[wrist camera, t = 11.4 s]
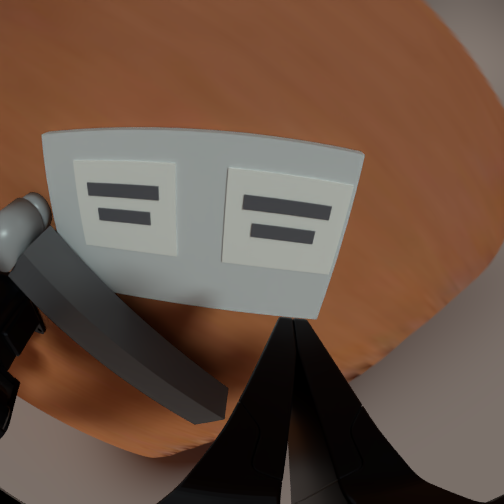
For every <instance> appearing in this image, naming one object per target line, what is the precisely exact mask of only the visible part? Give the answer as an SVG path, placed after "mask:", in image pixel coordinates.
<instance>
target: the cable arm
mask: <svg viewBox="0 0 504 504" xmlns="http://www.w3.org/2000/svg"><path fill="white" fill-rule="evenodd" d="M12 268H13V269H12ZM11 269H12V270H11ZM10 270H11V272H10V274H9V275H8V276H9V277H10V278H11V279H12V280H13V282H14V283H15V284H16V285H17V286H18V287H19V288H20V289H21V290H22V291H23V292H24V293H25V295H26V296H27V297H28V298H29V299H30V300H31V301H32V302H33V303H34V304H35V305H36V306H37V307H38V308H39V309H40V310H41V311H42V312H43V313H44V314H45V315H46V316H47V317H49V318H50V319H51V320H52V321H53V322H54V323H55V324H56V325H57V326H58V327H59V328H60V329H61V330H63V331H64V332H65V333H66V334H67V335H68V336H69V337H70V338H72V339H73V340H74V341H75V342H76V343H77V344H79V345H80V346H81V347H82V348H83V349H85V350H86V351H87V352H88V353H89V354H91V355H92V356H93V357H94V358H96V359H97V360H98V361H100V362H101V363H102V364H103V365H105V366H106V367H107V368H109V369H110V370H111V371H113V372H114V373H115V374H117V375H118V376H119V377H121V378H122V379H124V380H125V381H126V382H128V383H129V384H131V385H132V386H134V387H135V388H136V389H138V390H139V391H141V392H142V393H144V394H145V395H147V396H148V397H150V398H151V399H153V400H154V401H156V402H158V403H159V404H161V405H162V406H164V407H166V408H167V409H169V410H171V411H172V412H174V413H176V414H177V415H179V416H181V417H182V418H184V419H186V420H188V421H189V422H191V423H193V424H201V423H207V422H213V421H218V420H224V419H225V411H226V403H227V395H228V387H226V386H225V385H223V384H222V383H221V382H219V381H218V380H217V379H215V378H214V377H212V376H211V375H210V374H208V373H207V372H206V371H205V370H203V369H202V368H201V367H199V366H198V365H197V364H195V363H194V362H193V361H192V360H190V359H189V358H188V357H187V356H185V355H184V354H183V353H182V352H180V351H179V350H178V349H177V348H175V347H174V346H173V345H172V344H171V343H169V342H168V341H167V340H166V339H165V338H163V337H162V336H161V335H160V334H159V333H158V332H156V331H155V330H154V329H153V328H152V327H151V326H149V325H148V324H147V323H146V322H145V321H144V320H143V319H142V318H140V317H139V316H138V315H137V314H136V313H135V312H134V311H133V310H132V309H131V308H130V307H128V306H127V305H126V304H125V303H124V302H123V301H122V300H121V299H120V298H119V297H118V296H117V295H116V294H115V293H114V292H113V291H112V290H111V289H110V288H109V287H107V286H106V285H105V284H104V283H103V282H102V281H101V280H100V279H99V278H98V277H97V276H96V275H95V273H94V272H93V271H92V270H91V269H90V268H89V267H88V266H87V265H86V264H85V263H84V262H83V261H82V260H81V259H80V258H79V257H78V256H77V255H76V254H75V252H74V251H73V250H72V249H71V248H70V247H69V246H68V245H67V244H66V243H65V241H64V240H63V239H62V238H61V237H60V236H59V235H58V233H57V232H56V231H55V230H54V229H53V228H52V226H51V225H50V226H49V227H48V228H47V229H46V230H45V231H44V232H43V222H42V218H41V216H40V214H39V212H38V210H37V209H36V207H35V206H34V205H33V204H32V203H31V202H30V201H29V200H27V199H25V198H17V199H15V200H14V201H12V202H11V203H10V204H8V205H7V206H6V207H5V208H3V209H2V210H1V211H0V271H2V272H9V271H10Z"/></svg>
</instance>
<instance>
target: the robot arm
mask: <svg viewBox="0 0 504 504" xmlns="http://www.w3.org/2000/svg"><path fill="white" fill-rule="evenodd" d="M9 274H10V273H9V272H2V271H0V438H1V437H2V436H3V435H4V434H5V432H6V431H7V429H8V426H9V424H10V420H11V416H12V411H13V407H14V403H15V399H16V396H17V392H18V389H19V385H20V382H19V381H18V380H17V379H16V378H14V377H13V376H12V375H11V374H10V373H9V372H8V369H9V368H10V366H11V364H12V362H13V361H14V359H15V357H16V356H19V355H20V354H21V352H22V351H23V349H24V347H25V346H26V344H27V342H28V341H29V339H30V337H31V336H32V334H33V333H34V331H35V332H38V333H41V334H44V332H45V331H46V329H45V326H44V324H43V322H42V320H41V318H40V316H39V314H38V312H37V310H36V307H35V305H34V303H33V302H32V301H31V300H30V299H29V298H28V297H27V296H26V295H25V293H24V292H23V291H22V290H21V289H20V288H19V287H18V286H17V285H16V284H15V283H14V282H13V280H12V279H11V278H10V277H9V276H8V275H9ZM361 406H362V404H361V402H360V401H359V399H358V398H357V396H356V395H355V393H354V391H353V390H352V389H351V387H350V385H349V384H348V382H347V381H346V379H345V377H344V376H343V374H342V373H341V371H340V370H339V368H338V367H337V365H336V364H335V362H334V361H333V359H332V357H331V356H330V354H329V353H328V351H327V350H326V348H325V347H324V345H323V344H322V342H321V341H320V339H319V338H318V336H317V334H316V333H315V331H314V330H313V328H312V327H311V325H310V324H309V322H308V321H307V320H306V319H298V318H294V319H293V320H292V318H287V317H279V318H278V320H277V322H276V325H275V327H274V329H273V331H272V333H271V335H270V338H269V340H268V342H267V344H266V346H265V348H264V350H263V352H262V354H261V357H260V359H259V361H258V363H257V365H256V367H255V369H254V371H253V373H252V375H251V377H250V379H249V381H248V383H247V385H246V387H245V389H244V391H243V393H242V395H241V397H240V399H239V402H238V403H237V405H236V407H235V409H234V411H233V413H232V414H231V416H230V418H229V420H228V421H227V423H226V425H225V427H224V428H223V430H222V431H221V432H220V434H219V435H218V437H217V438H216V440H215V441H214V442H213V444H212V445H211V446H210V448H209V449H208V450H207V451H206V453H205V454H204V456H203V457H202V458H201V459H200V461H199V462H198V463H197V464H196V465H195V467H194V468H193V469H192V470H191V472H190V473H189V474H188V475H187V477H185V479H184V480H183V481H182V482H181V483H180V484H179V485H178V486H177V487H176V488H175V489H174V490H173V491H172V492H170V493H169V494H168V495H167V496H166V497H164V498H163V499H162V500H161V501H159V502H158V503H157V504H280V497H281V487H282V480H283V474H284V466H285V458H286V451H287V443H288V448H289V466H290V484H291V504H504V495H502V496H499V497H497V498H495V499H493V500H491V501H488V502H486V503H484V502H477V501H473V500H471V499H468V498H465V497H463V496H460V495H457V494H455V493H452V492H450V491H447V490H445V489H442V488H440V487H437V486H435V485H433V484H430V483H428V482H426V481H425V480H423V479H422V478H420V477H419V476H418V475H417V474H416V473H415V472H414V471H413V470H412V469H411V468H410V467H409V466H408V465H407V463H406V462H405V461H404V460H403V459H402V457H401V456H400V455H399V454H398V453H397V451H396V450H395V449H394V448H393V447H392V446H391V444H390V443H389V442H388V441H387V439H386V438H385V437H384V435H382V433H381V432H380V430H379V429H378V428H377V426H376V425H375V423H374V422H373V421H372V419H371V418H370V416H369V414H368V413H367V411H366V410H365V408H364V407H363V406H362V407H361ZM0 504H25V503H23V502H22V501H20V500H18V499H17V498H15V497H14V496H12V495H11V494H9V493H8V492H6V491H5V490H3V489H2V488H0Z"/></svg>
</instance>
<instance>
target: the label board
mask: <svg viewBox="0 0 504 504" xmlns="http://www.w3.org/2000/svg"><path fill="white" fill-rule="evenodd" d="M42 144H43V154H44V162H45V169H46V176H47V183H48V189H49V195H50V200H51V205H52V210H53V215H54V220H55V224H56V229H57V233H58V235H59V236H60V237H61V238H62V239H63V240H64V241H65V243H66V244H67V245H68V246H69V247H70V248H71V249H72V250H73V251H74V252H75V254H76V255H77V256H78V257H79V258H80V259H81V260H82V261H83V262H84V263H85V264H86V265H87V266H88V267H89V268H90V269H91V270H92V271H93V272H94V273H95V275H96V276H97V277H98V278H99V279H100V280H101V281H102V282H103V283H104V284H105V285H106V286H107V287H109V288H110V289H111V290H112V291H113V292H114V293H120V294H125V295H131V296H137V297H142V298H148V299H154V300H161V301H167V302H173V303H180V304H187V305H193V306H201V307H208V308H215V309H223V310H231V311H239V312H247V313H256V314H265V315H275V316H285V317H295V318H307V319H317V316H318V314H319V311H320V308H321V305H322V302H323V299H324V296H325V293H326V290H327V287H328V284H329V281H330V278H331V275H332V272H333V269H334V266H335V263H336V259H337V256H338V253H339V250H340V246H341V243H342V240H343V236H344V233H345V230H346V226H347V223H348V219H349V215H350V212H351V208H352V204H353V201H354V197H355V193H356V189H357V185H358V181H359V177H360V173H361V169H362V165H363V161H364V157H365V155H364V154H363V153H362V152H361V151H357V150H352V149H347V148H342V147H337V146H332V145H326V144H321V143H315V142H309V141H303V140H296V139H290V138H283V137H275V136H268V135H259V134H251V133H241V132H230V131H219V130H205V129H187V128H157V127H121V128H92V129H75V130H62V131H51V132H47V133H44V134H42ZM23 198H25V199H27V200H29V201H30V202H31V203H32V204H33V205H34V206H35V207H36V209H37V210H38V212H39V214H40V216H41V218H42V222H43V231H44V230H45V229H46V228H47V227H49V225H50V224H51V220H52V214H51V210H50V207H49V205H48V203H47V201H46V200H45V199H44V198H43V197H42V196H41V195H40V194H38V193H35V192H31V193H28V194H27V195H26V196H24V197H23Z"/></svg>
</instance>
